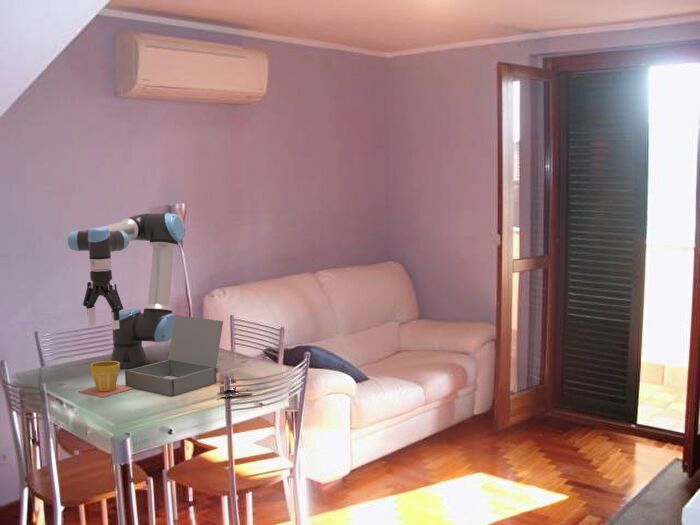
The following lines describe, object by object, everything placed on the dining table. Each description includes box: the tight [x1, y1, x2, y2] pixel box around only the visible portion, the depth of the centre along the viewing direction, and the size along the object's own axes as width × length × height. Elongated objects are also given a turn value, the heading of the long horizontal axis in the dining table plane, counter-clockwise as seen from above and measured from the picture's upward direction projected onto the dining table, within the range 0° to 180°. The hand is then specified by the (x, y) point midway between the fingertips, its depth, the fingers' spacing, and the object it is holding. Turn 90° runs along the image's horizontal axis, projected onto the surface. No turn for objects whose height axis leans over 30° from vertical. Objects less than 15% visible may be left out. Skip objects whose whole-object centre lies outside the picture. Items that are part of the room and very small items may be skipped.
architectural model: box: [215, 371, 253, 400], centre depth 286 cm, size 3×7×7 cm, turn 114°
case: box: [124, 314, 224, 397], centre depth 298 cm, size 26×27×24 cm
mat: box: [78, 383, 135, 399], centre depth 291 cm, size 14×14×1 cm
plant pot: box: [90, 360, 121, 392], centre depth 290 cm, size 10×10×10 cm
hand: (103, 327), depth 288 cm, fingers open, 13 cm apart
